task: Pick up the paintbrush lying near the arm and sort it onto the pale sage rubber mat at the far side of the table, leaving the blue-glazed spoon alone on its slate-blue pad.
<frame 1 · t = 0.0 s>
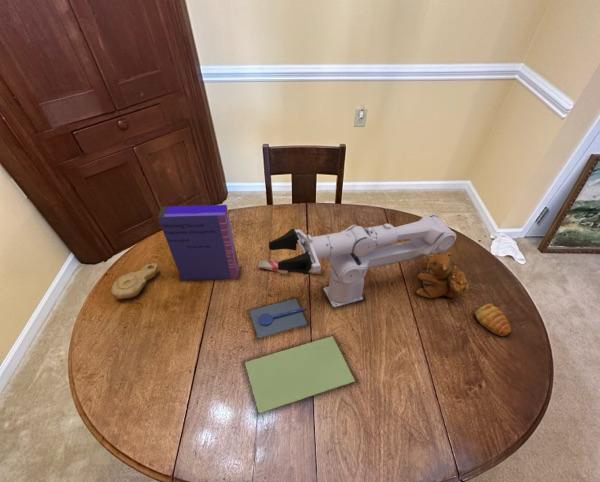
hand: (273, 255, 84), 22 cm above the table, tool horizontal, fingers open, 7 cm apart
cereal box: (210, 274, 111), on the table
oil lamp: (138, 287, 107), on the table
paintbrush: (289, 271, 111), on the table
stuffed squirrel: (437, 290, 105), on the table, touching arm
spoon: (277, 317, 98), resting on spoon pad
brush mat: (298, 372, 86), on the table
spoon pad: (277, 318, 98), on the table
pastry: (490, 322, 96), on the table
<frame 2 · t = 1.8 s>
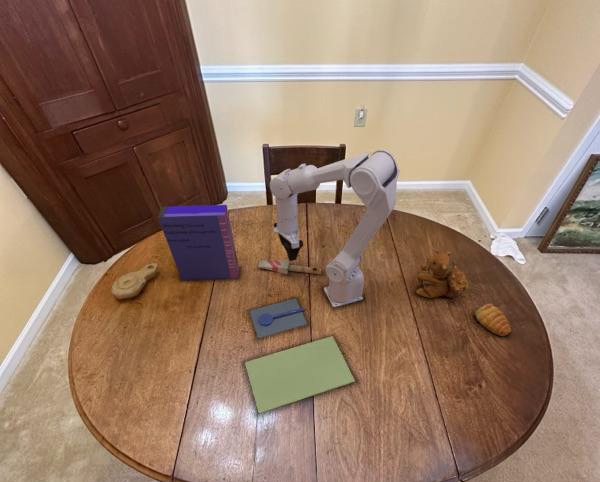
hand: (288, 251, 105), 8 cm above the table, tool pointing down, fingers open, 7 cm apart
stuffed squirrel: (437, 290, 105), on the table
everything else where it was.
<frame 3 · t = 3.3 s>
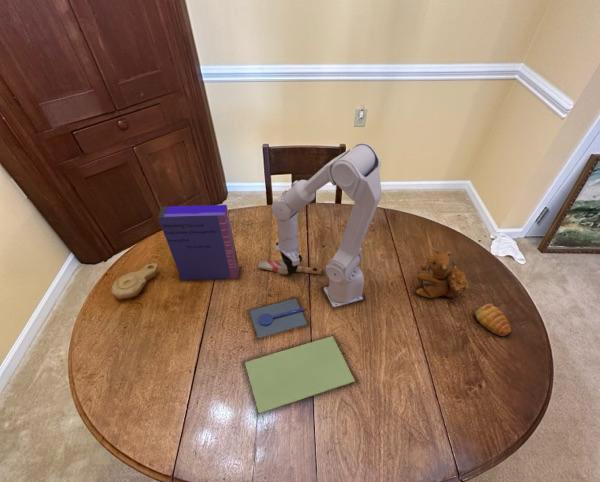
hand: (289, 267, 110), 1 cm above the table, tool pointing down, fingers closed on paintbrush, 5 cm apart
paintbrush: (289, 271, 111), on the table, touching gripper
everything else where it was.
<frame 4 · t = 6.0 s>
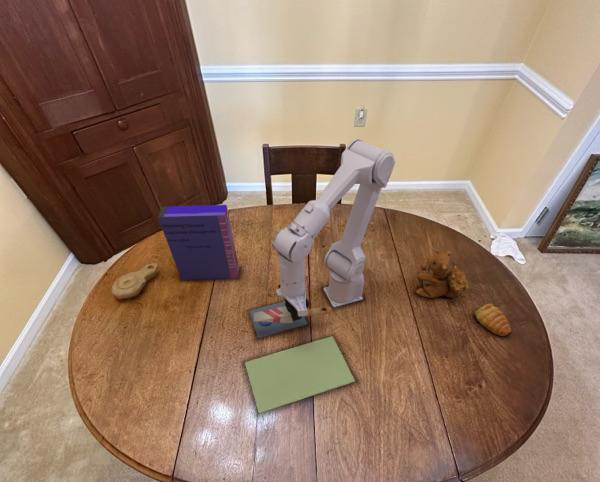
hand: (293, 312, 90), 7 cm above the table, tool pointing down, fingers closed on paintbrush, 4 cm apart
paintbrush: (293, 317, 91), point 6 cm above the table, touching gripper
everything else where it was.
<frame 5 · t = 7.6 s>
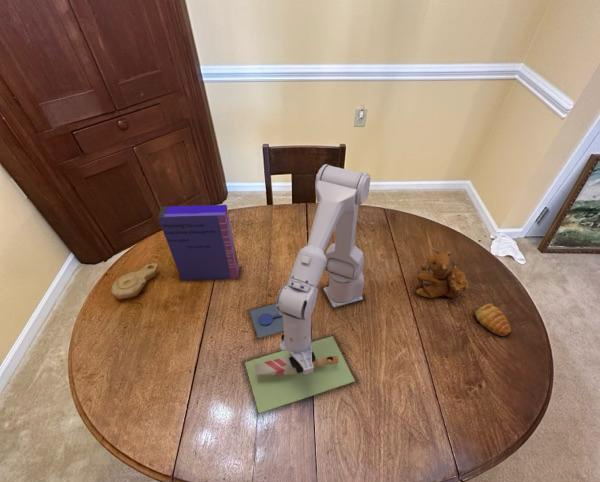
hand: (298, 363, 83), 4 cm above the table, tool pointing down, fingers closed on paintbrush, 4 cm apart
paintbrush: (297, 367, 84), point 3 cm above the table, touching gripper
everything else where it was.
when the fingers open (2 cm above the table, at t = 8.7 s): paintbrush stays where it is, resting on brush mat.
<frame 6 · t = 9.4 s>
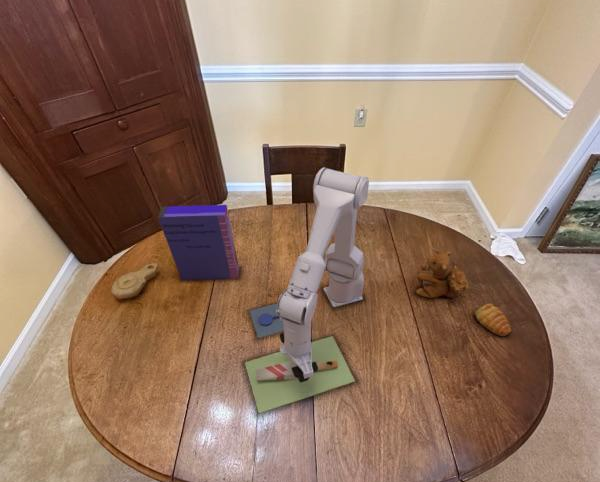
hand: (298, 366, 84), 3 cm above the table, tool pointing down, fingers open, 7 cm apart
paintbrush: (297, 372, 86), resting on brush mat
everything else where it was.
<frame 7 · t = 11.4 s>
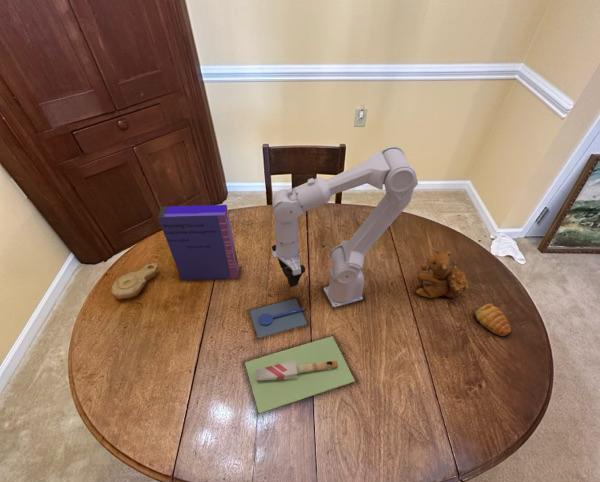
hand: (288, 276, 96), 9 cm above the table, tool pointing down, fingers open, 7 cm apart
nothing on the table moved.
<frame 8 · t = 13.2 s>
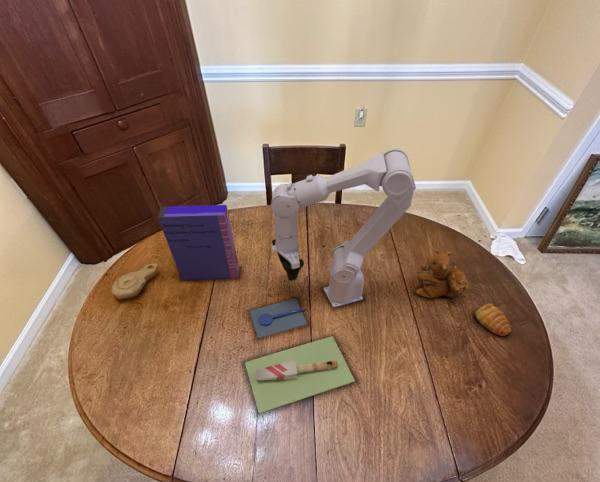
hand: (288, 270, 98), 9 cm above the table, tool pointing down, fingers open, 7 cm apart
nothing on the table moved.
at the end: paintbrush inside the target area on the brush mat (0.4 cm from its centre), point 0.2 cm above the brush mat's base; the gripper is holding nothing; spoon moved 0.0 cm from its start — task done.
